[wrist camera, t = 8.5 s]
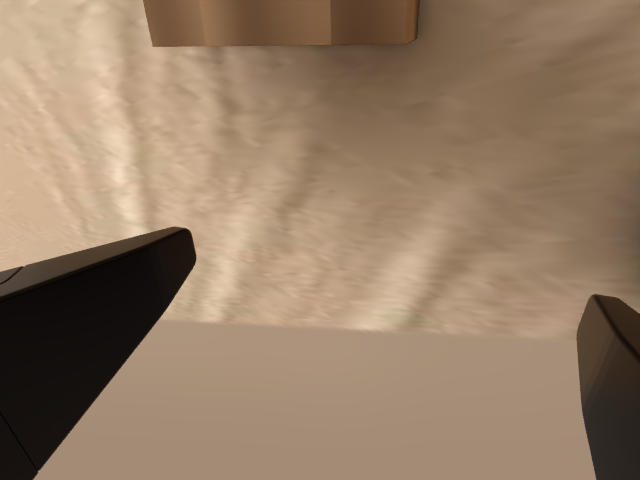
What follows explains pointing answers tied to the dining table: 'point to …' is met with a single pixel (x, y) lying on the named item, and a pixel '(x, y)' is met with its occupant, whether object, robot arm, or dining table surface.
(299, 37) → the socket block
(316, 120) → the dining table surface
